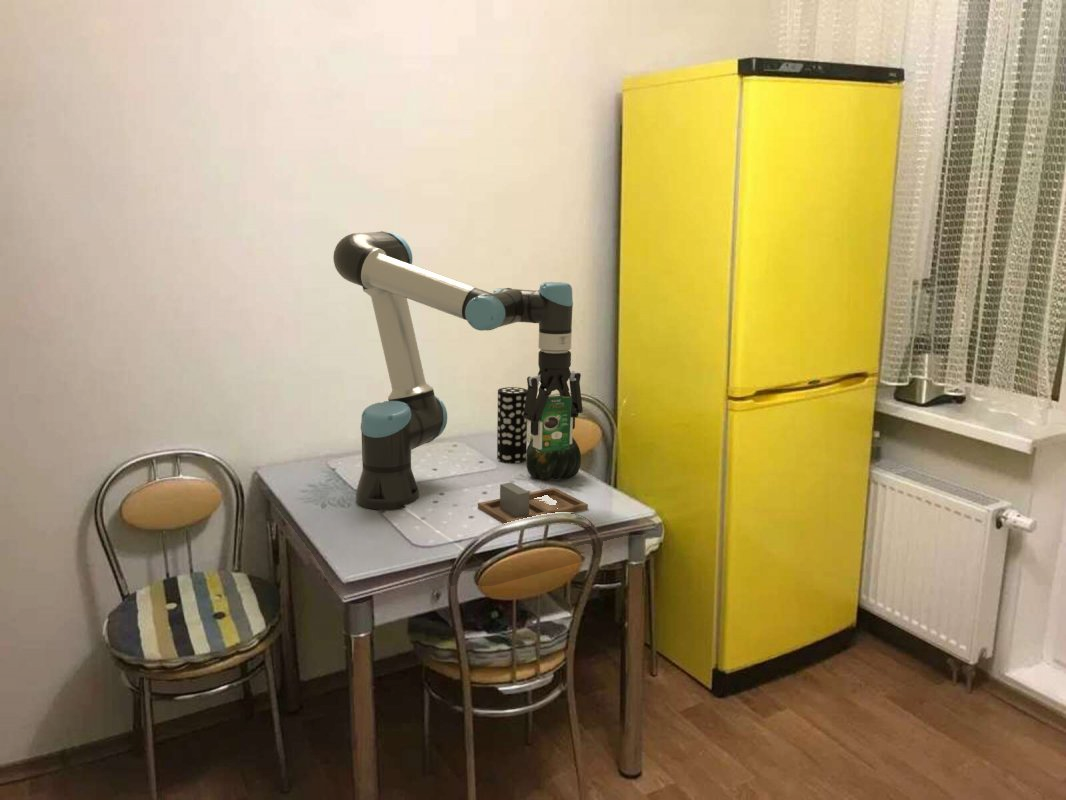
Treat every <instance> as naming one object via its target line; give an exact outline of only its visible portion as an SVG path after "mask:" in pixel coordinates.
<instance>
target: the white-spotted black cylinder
mask: <svg viewBox="0 0 1066 800" xmlns="http://www.w3.org/2000/svg"><path fill="white" fill-rule="evenodd" d="M527 389H528V388H527ZM527 389H526V388H523V387H517V386H516V387H515V386H514V387H513V386H510V387H508V386H507V387H501V388H499V389H497V423H496V424H497V435H496V436H497V438H496V439H497V440H496V441H497V443H496V445H497V446H496V448H497V449H496V460H497V461H498V462H501V463H503V464H520V463H523V462H525V461H526V462H527V447H528V446H527V445H528V443H527V441H528V439H527V438H528V419H525V418H524V417H523V414H524V408H525V402H526V396H527Z"/></svg>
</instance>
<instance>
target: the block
mask: <svg viewBox="0 0 1066 800" xmlns="http://www.w3.org/2000/svg"><path fill="white" fill-rule="evenodd" d="M529 496H530V491H528V490H526V489H524V488H522V487H521V486H519V485H517V484H515V483H513V482H505V483H501V484H500V485H499V499H500V509H502V510H503V511H505V512H507V513H508V514H510V515H512V516H514V517H515V518H519V517H523V516H528V515H529Z"/></svg>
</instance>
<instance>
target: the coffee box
mask: <svg viewBox="0 0 1066 800" xmlns="http://www.w3.org/2000/svg"><path fill="white" fill-rule="evenodd" d="M570 396H571V395H570ZM570 396H569V397H565V396H560V395H549V396H548V399H547V402H546V404H545V407H544V410H543V412H542V415H541V418H540V421H541V422H543V423H542V449H540V450H539V449H537V448H536V451H537V452H539V453H542V452H551V451H563V450H569V446H570V421H571V400H572V398H571V397H570Z"/></svg>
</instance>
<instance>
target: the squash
mask: <svg viewBox="0 0 1066 800" xmlns="http://www.w3.org/2000/svg"><path fill="white" fill-rule="evenodd" d="M527 445H528V446H527V453H526V468H527V469H526V470H527V472H528V473H529V475H530V477H533V478H534V479H535V478H536V479H541V481H549V480H551V479H553V480H560V479H562V480H563V478H564V479H566V478H567V479H571V478H574V477H575V476H576V475H578V473H579V471H580V468H581V464H582V463H581V461H582V457H581V456H582V455H581V449H580V447H579V445H578V443H577V441H576V440H575V438H574V436H572V444H570V446H569V450H563V451H551V452H542V453H539V452H537V451H536V448H534V447H533V438H532V439H531V440H530V441H529V443H528V444H527ZM567 479H566V480H567Z"/></svg>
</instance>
